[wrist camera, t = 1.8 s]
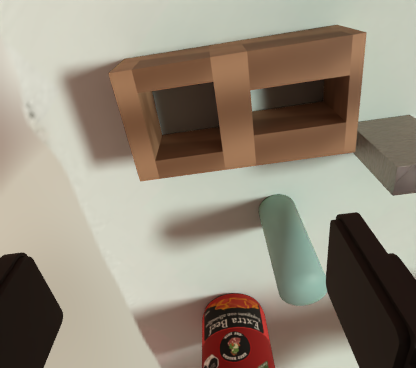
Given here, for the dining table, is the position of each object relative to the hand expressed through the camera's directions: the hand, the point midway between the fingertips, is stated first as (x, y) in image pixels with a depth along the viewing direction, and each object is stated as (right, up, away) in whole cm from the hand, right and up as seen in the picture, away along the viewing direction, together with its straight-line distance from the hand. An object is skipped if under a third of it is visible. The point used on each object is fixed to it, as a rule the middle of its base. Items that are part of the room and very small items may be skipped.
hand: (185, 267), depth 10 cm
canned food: (+4, -13, +30) cm, 33 cm away
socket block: (+3, +10, +16) cm, 19 cm away
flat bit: (+15, +7, +18) cm, 25 cm away
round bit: (+8, 0, +22) cm, 23 cm away
